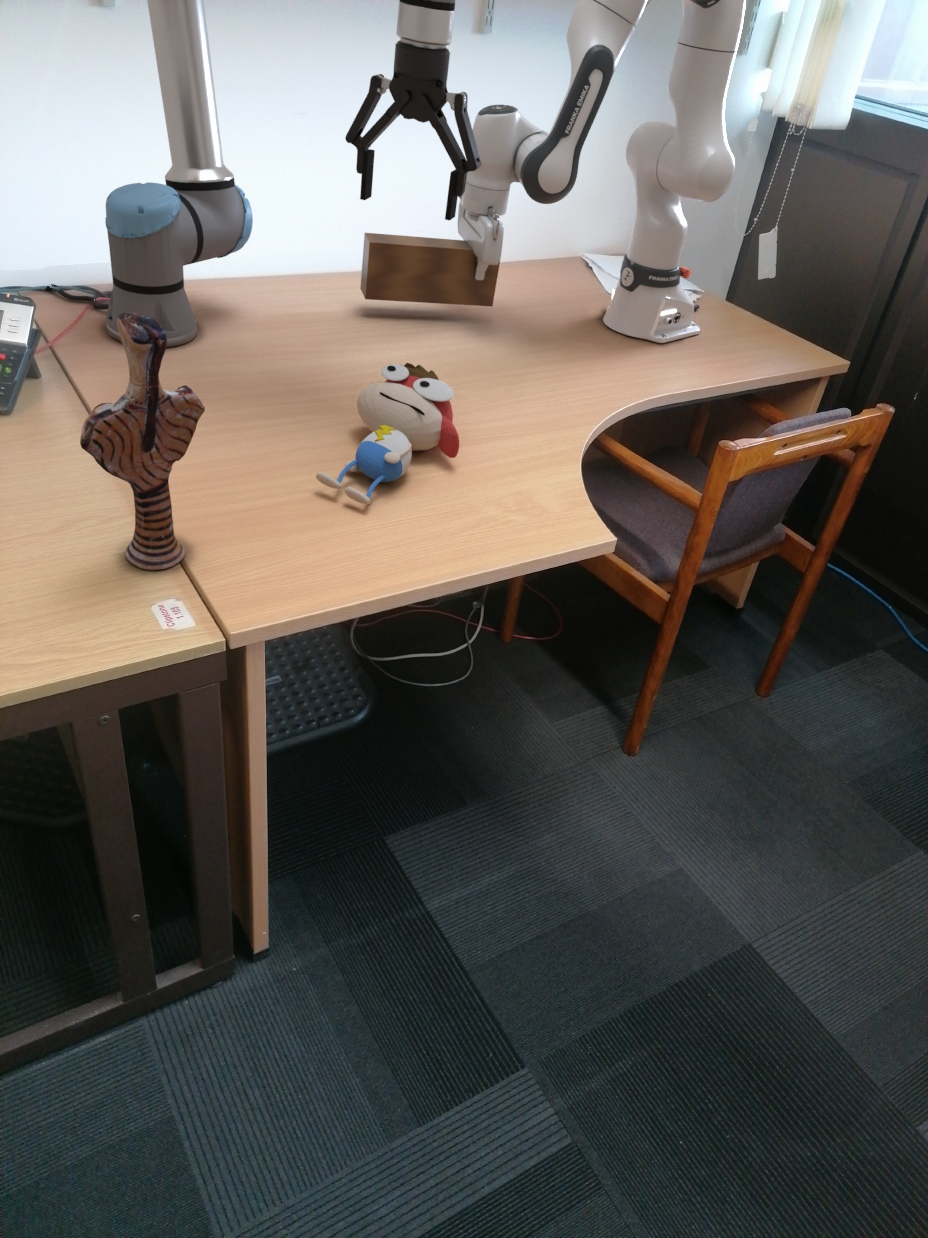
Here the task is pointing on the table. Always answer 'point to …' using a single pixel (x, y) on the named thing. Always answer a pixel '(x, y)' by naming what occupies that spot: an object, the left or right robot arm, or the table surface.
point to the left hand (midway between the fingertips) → (407, 208)
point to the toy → (399, 425)
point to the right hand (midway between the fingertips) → (473, 272)
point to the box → (424, 271)
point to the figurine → (145, 440)
